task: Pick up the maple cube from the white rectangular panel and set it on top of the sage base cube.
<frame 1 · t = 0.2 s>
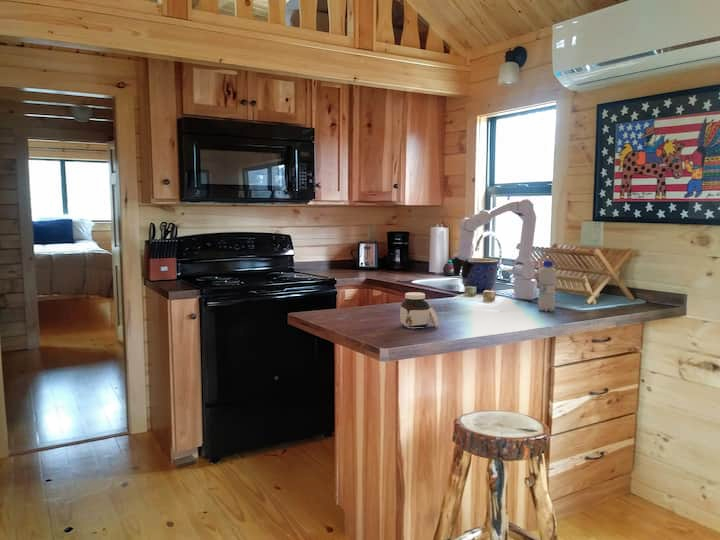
hand: (460, 276, 251), 10 cm above the countertop, tool pointing down, fingers open, 7 cm apart
planter: (478, 291, 277), on the countertop
white rectangular panel: (478, 298, 256), on the countertop
sage base cube: (470, 295, 261), resting on white rectangular panel
maple cube: (489, 300, 249), resting on white rectangular panel
spread jar: (420, 327, 200), on the countertop
bottle: (546, 311, 230), on the countertop
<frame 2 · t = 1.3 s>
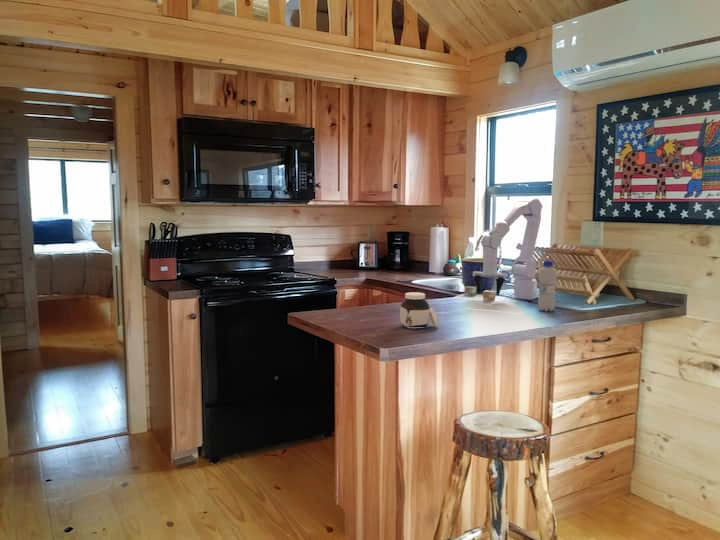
hand: (489, 294, 249), 3 cm above the countertop, tool pointing down, fingers open, 7 cm apart
nothing on the countertop moved.
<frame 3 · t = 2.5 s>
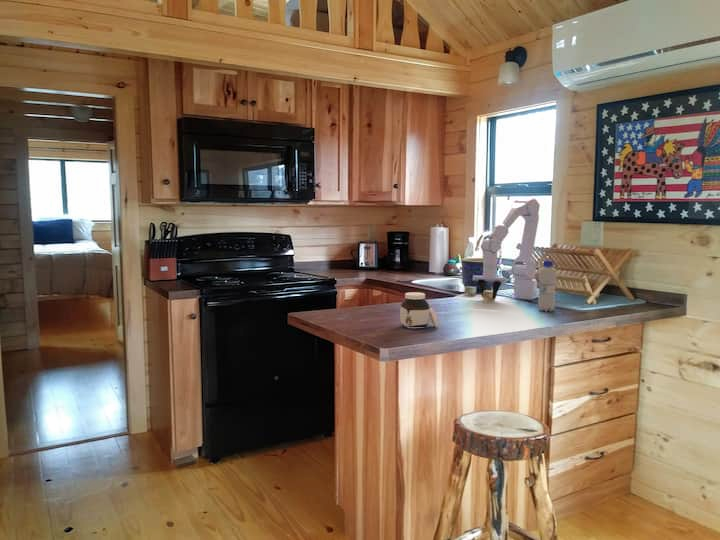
hand: (489, 298, 249), 2 cm above the countertop, tool pointing down, fingers closed on maple cube, 4 cm apart
maple cube: (489, 300, 249), resting on white rectangular panel, touching gripper
everything else where it was.
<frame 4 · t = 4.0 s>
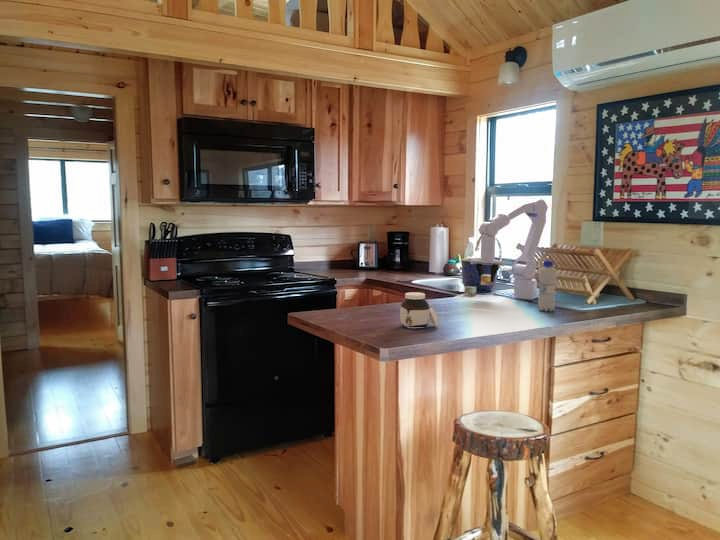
hand: (486, 281, 250), 8 cm above the countertop, tool pointing down, fingers closed on maple cube, 4 cm apart
maple cube: (486, 284, 250), point 7 cm above the countertop, touching gripper
everything else where it was.
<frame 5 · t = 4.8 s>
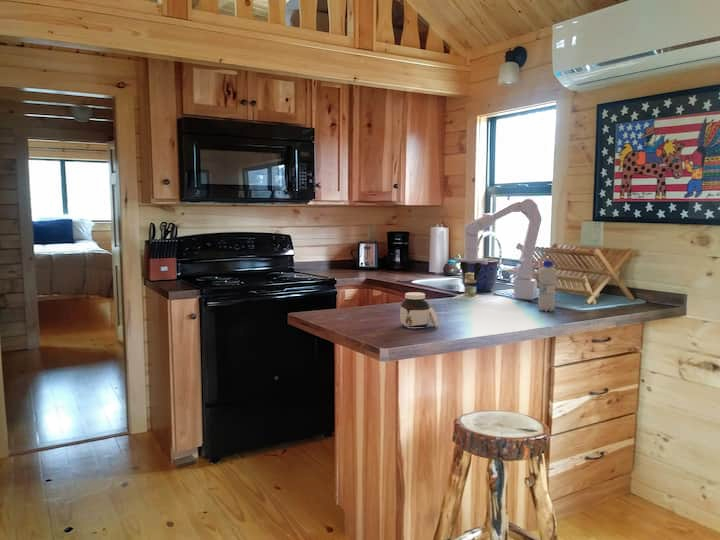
hand: (470, 279, 260), 8 cm above the countertop, tool pointing down, fingers closed on maple cube, 4 cm apart
maple cube: (470, 282, 260), point 7 cm above the countertop, touching gripper
everything else where it was.
when the fingers open (7 cm above the countertop, at t = 5.4 s): maple cube stays where it is, resting on sage base cube.
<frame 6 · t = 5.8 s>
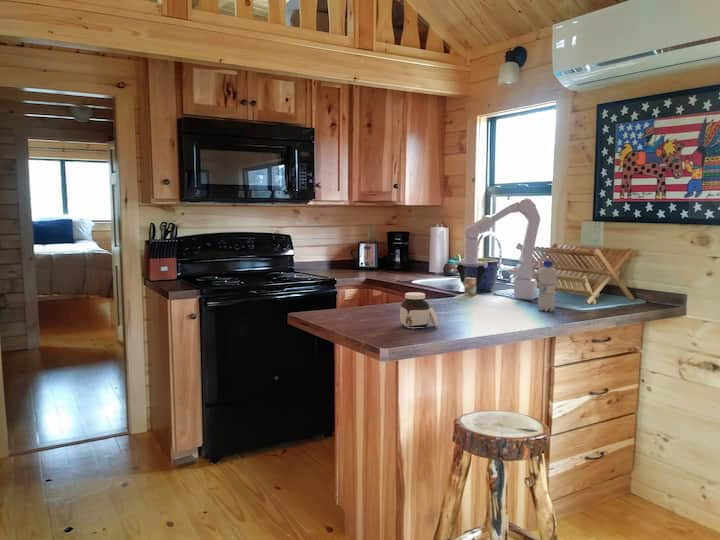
hand: (470, 282, 260), 7 cm above the countertop, tool pointing down, fingers open, 7 cm apart
sage base cube: (470, 295, 261), resting on white rectangular panel, touching maple cube
maple cube: (470, 287, 260), point 4 cm above the countertop, touching sage base cube
everything else where it was.
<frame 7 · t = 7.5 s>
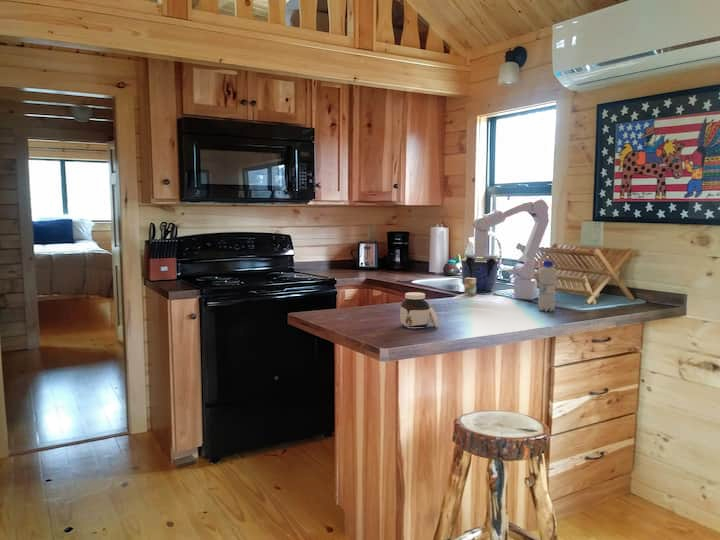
hand: (480, 275, 255), 10 cm above the countertop, tool pointing down, fingers open, 7 cm apart
nothing on the countertop moved.
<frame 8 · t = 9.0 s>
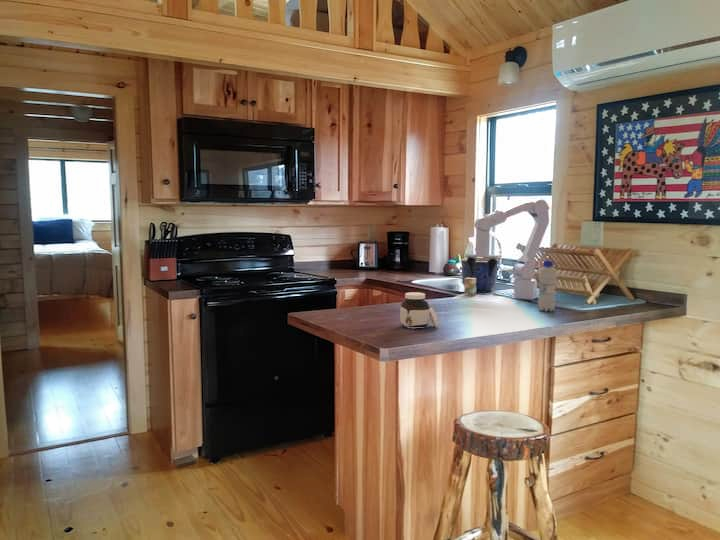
hand: (481, 275, 254), 10 cm above the countertop, tool pointing down, fingers open, 7 cm apart
nothing on the countertop moved.
at the end: maple cube 0.2 cm off-centre on the sage base cube, point 4.0 cm above the sage base cube's base; maple cube tilted 0°; sage base cube moved 0.0 cm from its start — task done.
